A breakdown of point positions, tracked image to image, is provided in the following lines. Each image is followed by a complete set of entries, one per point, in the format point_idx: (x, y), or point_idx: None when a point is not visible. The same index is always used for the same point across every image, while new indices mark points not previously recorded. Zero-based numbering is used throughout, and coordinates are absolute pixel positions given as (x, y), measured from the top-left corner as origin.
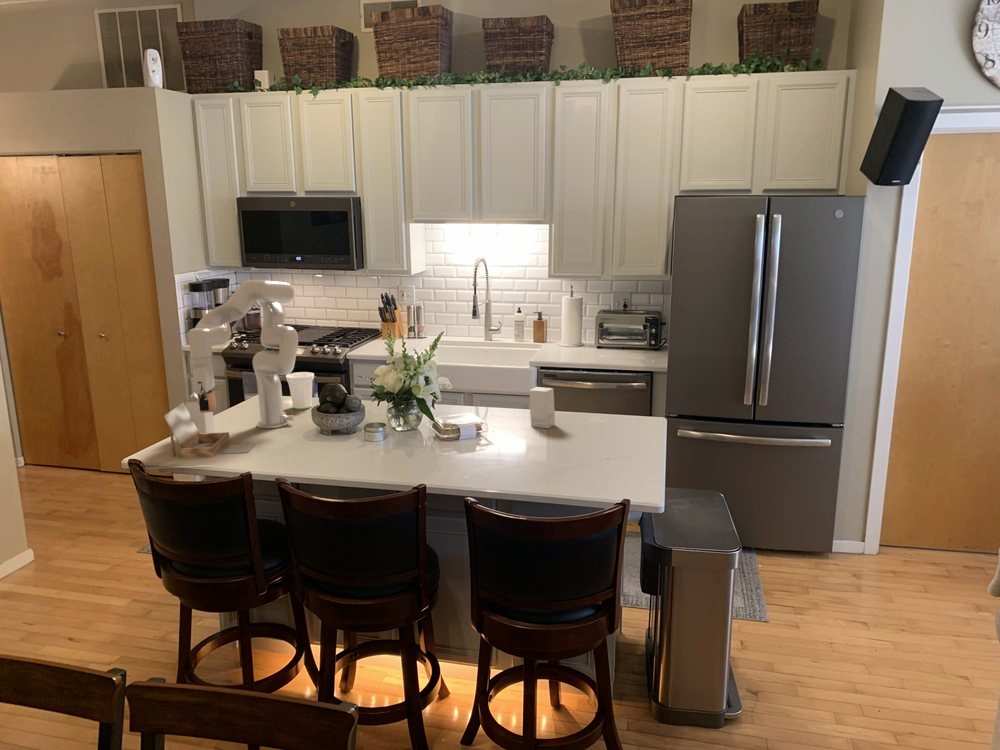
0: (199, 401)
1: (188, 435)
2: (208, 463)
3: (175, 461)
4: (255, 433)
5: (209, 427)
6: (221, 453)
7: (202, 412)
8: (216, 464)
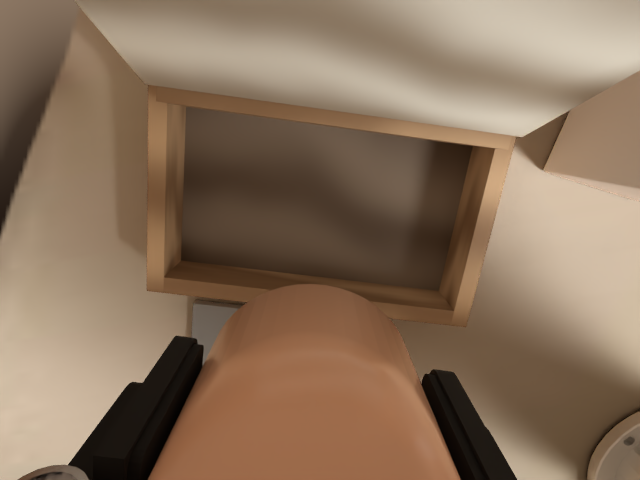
0: (108, 443)
1: (338, 105)
2: (60, 261)
3: (115, 67)
4: (536, 404)
5: (626, 192)
6: (193, 305)
7: (219, 333)
8: (41, 302)
